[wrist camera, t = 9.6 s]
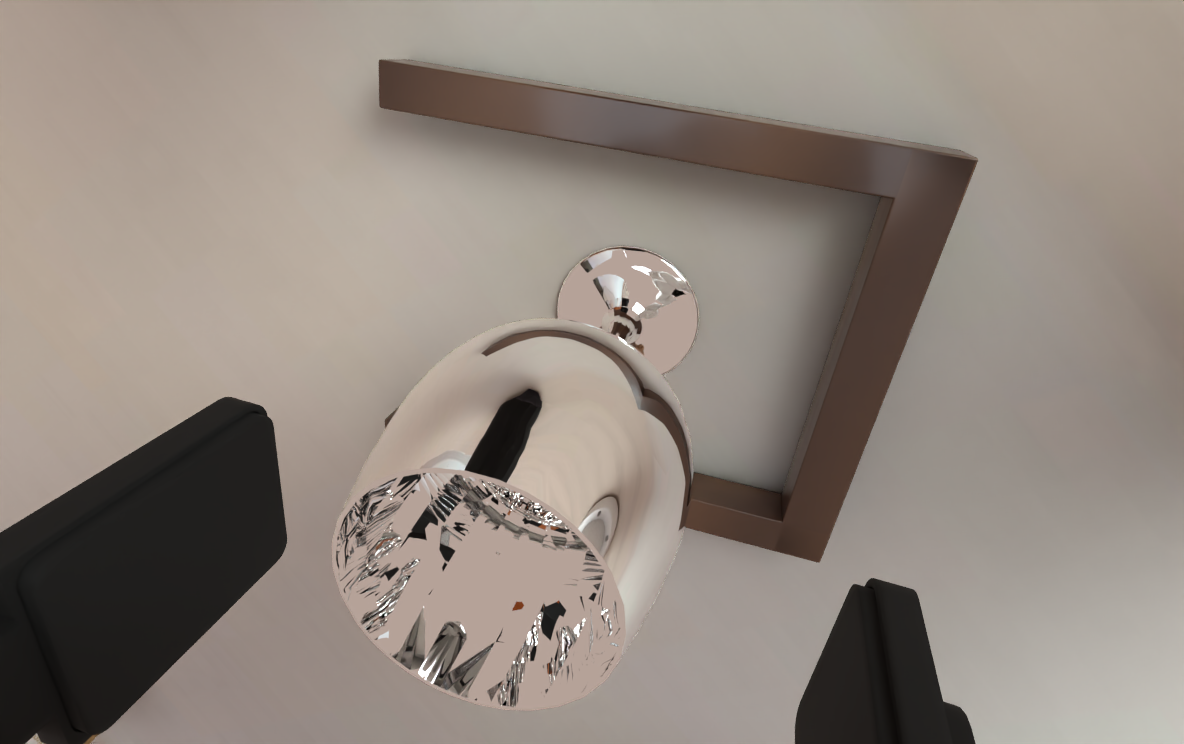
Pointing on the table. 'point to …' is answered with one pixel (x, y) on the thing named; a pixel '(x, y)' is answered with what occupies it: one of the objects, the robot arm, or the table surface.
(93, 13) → the table surface
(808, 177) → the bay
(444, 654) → the wineglass
